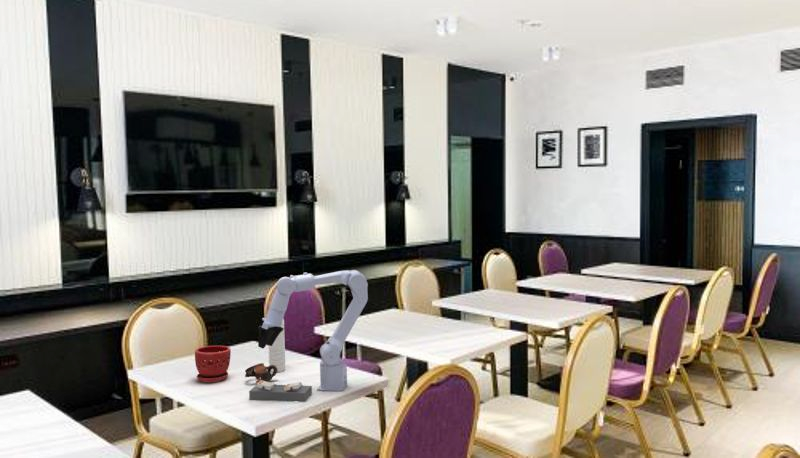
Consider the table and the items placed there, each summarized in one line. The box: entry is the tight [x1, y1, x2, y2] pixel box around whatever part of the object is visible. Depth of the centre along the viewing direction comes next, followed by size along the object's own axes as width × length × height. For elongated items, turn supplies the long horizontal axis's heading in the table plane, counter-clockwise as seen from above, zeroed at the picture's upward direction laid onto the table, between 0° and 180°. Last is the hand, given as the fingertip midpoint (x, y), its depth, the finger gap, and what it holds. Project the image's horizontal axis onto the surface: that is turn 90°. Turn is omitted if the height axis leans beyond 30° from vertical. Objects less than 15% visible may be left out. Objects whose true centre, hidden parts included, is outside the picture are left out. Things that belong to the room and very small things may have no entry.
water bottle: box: [267, 307, 288, 373], centre depth 252 cm, size 9×6×25 cm
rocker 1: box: [256, 380, 275, 390], centre depth 218 cm, size 5×4×2 cm
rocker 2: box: [284, 381, 302, 391], centre depth 216 cm, size 5×4×2 cm
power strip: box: [248, 383, 313, 403], centre depth 219 cm, size 20×8×3 cm, turn 80°
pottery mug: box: [244, 363, 278, 384], centre depth 237 cm, size 12×10×8 cm
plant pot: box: [194, 345, 232, 383], centre depth 241 cm, size 13×13×12 cm
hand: (265, 346), depth 222 cm, fingers open, 7 cm apart
